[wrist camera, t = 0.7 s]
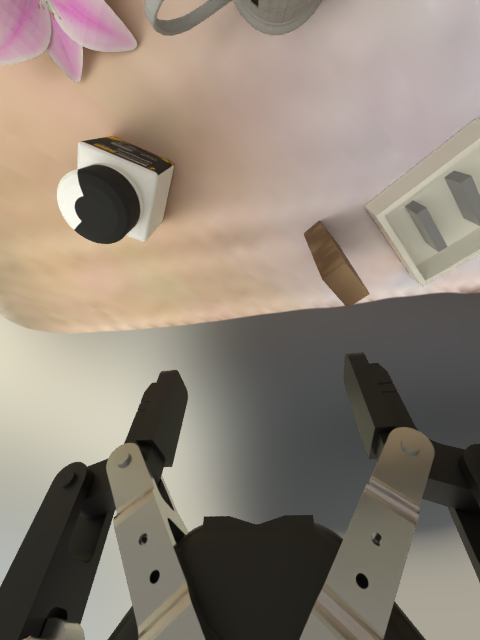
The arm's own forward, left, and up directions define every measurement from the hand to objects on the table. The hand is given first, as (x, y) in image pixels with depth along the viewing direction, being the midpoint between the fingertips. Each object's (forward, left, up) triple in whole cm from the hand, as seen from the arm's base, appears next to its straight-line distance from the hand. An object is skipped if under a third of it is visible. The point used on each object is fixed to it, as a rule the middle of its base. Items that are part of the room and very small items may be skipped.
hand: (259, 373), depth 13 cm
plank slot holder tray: (-16, +14, -26) cm, 34 cm away
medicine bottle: (+8, -12, -26) cm, 30 cm away
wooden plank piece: (-4, +8, -26) cm, 27 cm away
